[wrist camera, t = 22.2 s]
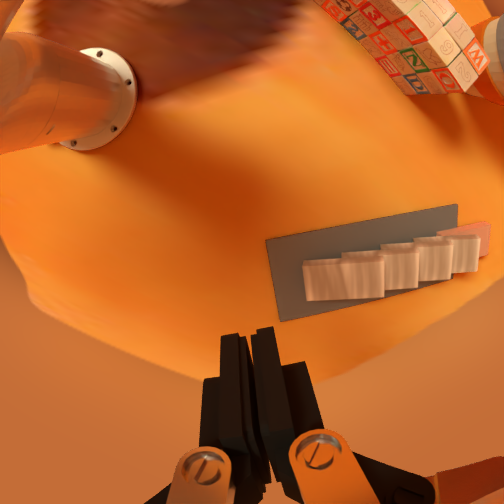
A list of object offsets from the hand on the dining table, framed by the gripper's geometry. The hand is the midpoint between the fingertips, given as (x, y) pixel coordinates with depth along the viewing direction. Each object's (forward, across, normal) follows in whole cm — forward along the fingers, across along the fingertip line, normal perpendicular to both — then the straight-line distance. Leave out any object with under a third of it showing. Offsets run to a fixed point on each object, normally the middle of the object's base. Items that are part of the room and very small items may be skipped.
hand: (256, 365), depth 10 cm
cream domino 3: (+28, -16, +13) cm, 35 cm away
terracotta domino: (+28, -26, +13) cm, 40 cm away
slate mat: (+29, -16, +13) cm, 36 cm away
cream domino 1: (+28, -6, +13) cm, 31 cm away
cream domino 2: (+28, -11, +13) cm, 33 cm away
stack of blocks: (+30, -19, -19) cm, 40 cm away
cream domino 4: (+28, -22, +13) cm, 38 cm away
